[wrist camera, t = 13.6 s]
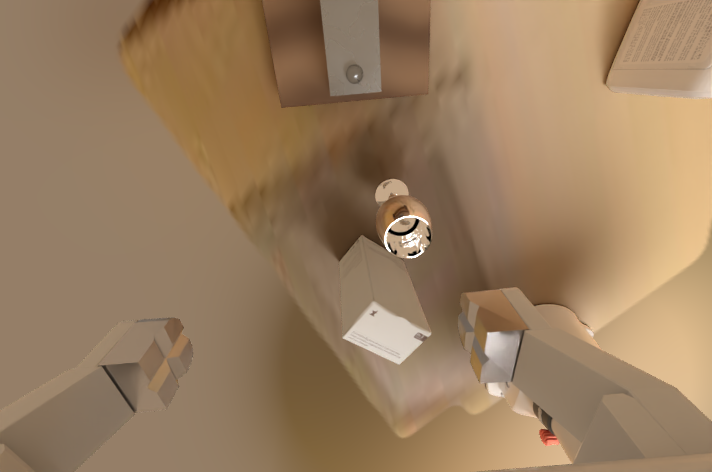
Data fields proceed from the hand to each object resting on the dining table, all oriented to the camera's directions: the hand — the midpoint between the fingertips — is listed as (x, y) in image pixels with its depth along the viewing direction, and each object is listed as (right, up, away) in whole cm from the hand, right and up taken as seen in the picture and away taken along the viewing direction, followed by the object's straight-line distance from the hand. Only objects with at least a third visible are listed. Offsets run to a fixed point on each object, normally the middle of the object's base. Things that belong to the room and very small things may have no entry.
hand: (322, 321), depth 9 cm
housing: (0, +21, +19) cm, 29 cm away
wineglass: (+6, +8, +31) cm, 33 cm away
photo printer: (+31, +24, +24) cm, 46 cm away
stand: (0, +23, +23) cm, 33 cm away
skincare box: (+4, -1, +36) cm, 36 cm away
